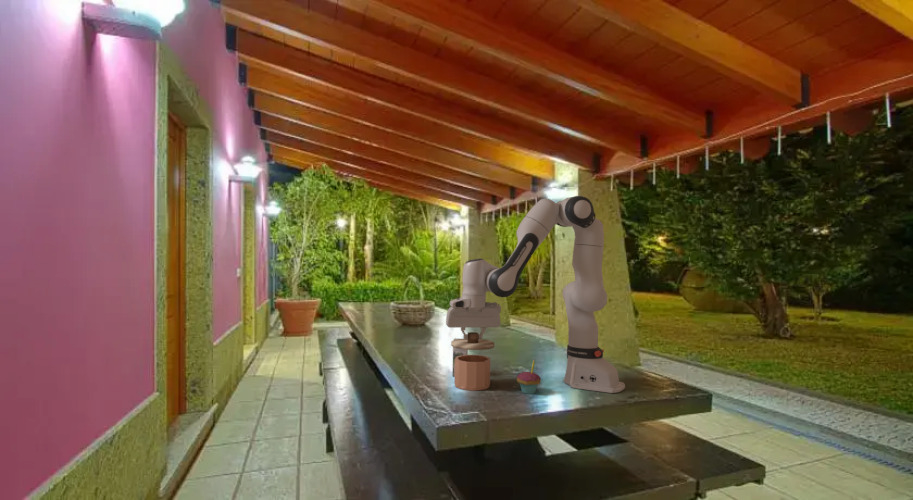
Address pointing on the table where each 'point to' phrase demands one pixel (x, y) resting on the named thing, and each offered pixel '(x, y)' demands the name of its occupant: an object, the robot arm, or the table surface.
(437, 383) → the table surface
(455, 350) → the syrup box
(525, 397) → the table surface
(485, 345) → the lid
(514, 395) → the table surface
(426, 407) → the table surface
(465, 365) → the pot
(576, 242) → the robot arm
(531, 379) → the cupcake
